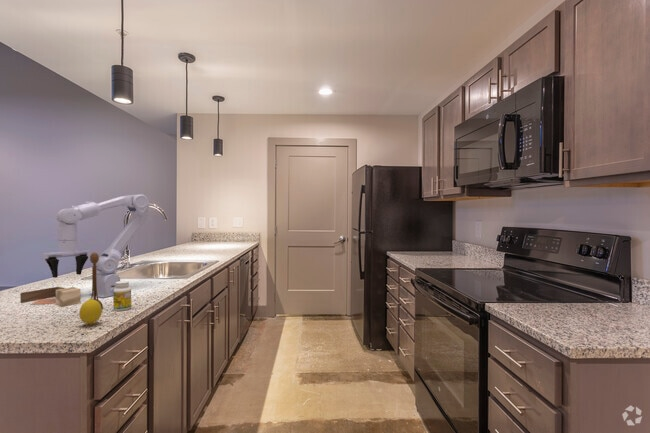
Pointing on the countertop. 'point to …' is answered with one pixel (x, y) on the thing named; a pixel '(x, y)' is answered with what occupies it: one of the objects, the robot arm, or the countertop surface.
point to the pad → (45, 301)
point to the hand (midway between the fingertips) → (67, 275)
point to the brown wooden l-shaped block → (39, 294)
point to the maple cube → (68, 296)
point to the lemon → (90, 311)
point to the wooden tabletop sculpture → (94, 277)
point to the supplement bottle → (122, 296)
